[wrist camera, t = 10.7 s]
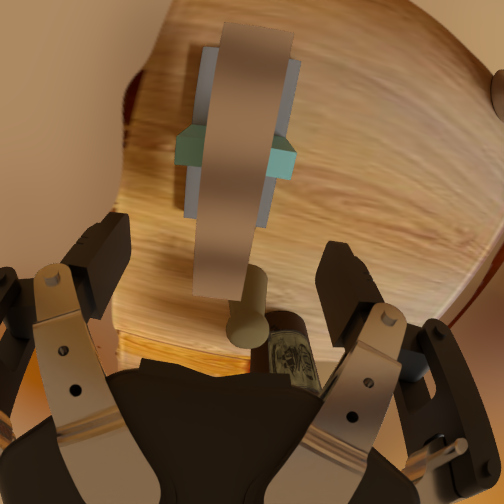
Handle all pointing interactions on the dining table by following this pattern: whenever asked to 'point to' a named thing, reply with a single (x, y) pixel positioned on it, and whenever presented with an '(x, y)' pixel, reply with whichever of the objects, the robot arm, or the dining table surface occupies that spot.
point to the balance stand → (194, 135)
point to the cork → (249, 312)
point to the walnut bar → (237, 154)
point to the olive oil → (287, 351)
